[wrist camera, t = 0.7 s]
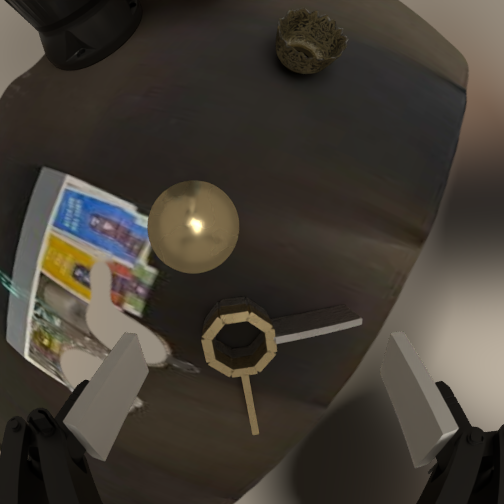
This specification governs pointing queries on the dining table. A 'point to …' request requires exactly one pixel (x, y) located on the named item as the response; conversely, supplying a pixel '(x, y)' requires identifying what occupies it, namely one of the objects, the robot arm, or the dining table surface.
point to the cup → (308, 41)
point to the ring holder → (264, 337)
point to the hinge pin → (193, 226)
